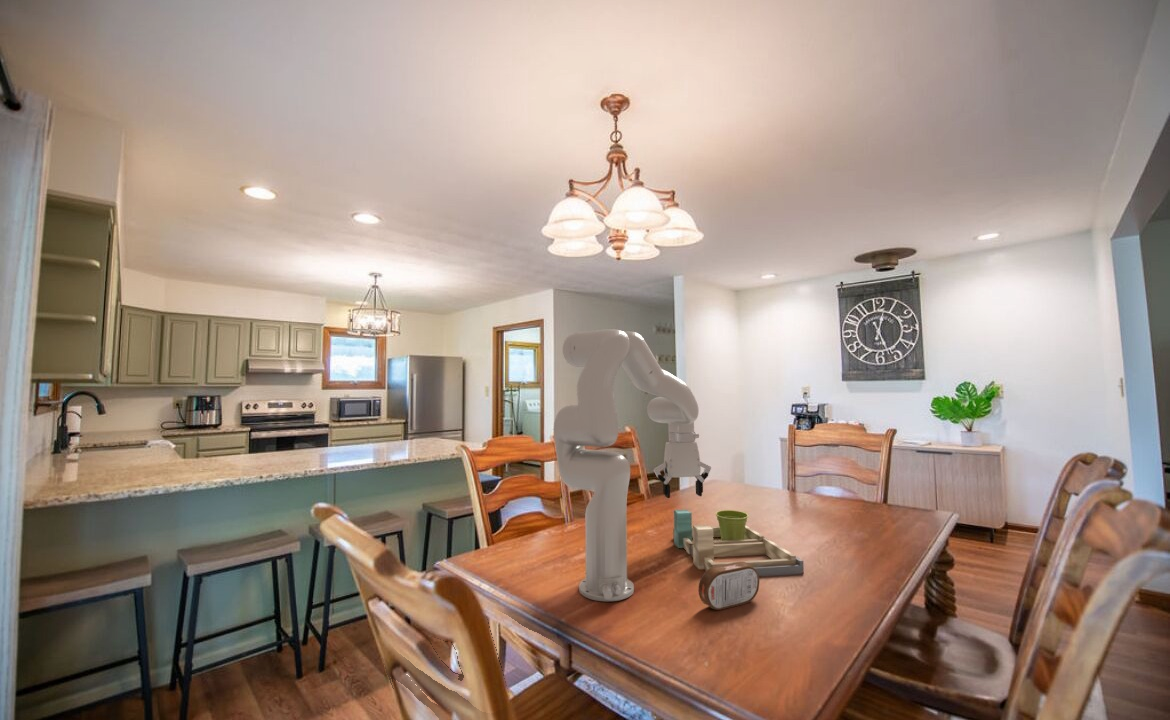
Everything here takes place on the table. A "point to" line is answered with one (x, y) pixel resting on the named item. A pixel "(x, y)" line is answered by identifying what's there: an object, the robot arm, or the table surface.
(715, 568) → the tin
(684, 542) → the pot
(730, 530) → the plant pot
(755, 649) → the table surface
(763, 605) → the table surface
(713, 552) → the frame
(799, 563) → the rack
